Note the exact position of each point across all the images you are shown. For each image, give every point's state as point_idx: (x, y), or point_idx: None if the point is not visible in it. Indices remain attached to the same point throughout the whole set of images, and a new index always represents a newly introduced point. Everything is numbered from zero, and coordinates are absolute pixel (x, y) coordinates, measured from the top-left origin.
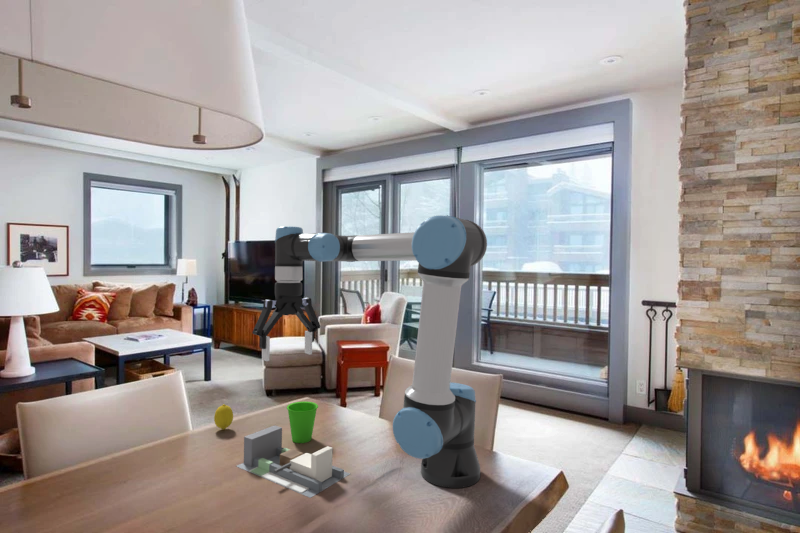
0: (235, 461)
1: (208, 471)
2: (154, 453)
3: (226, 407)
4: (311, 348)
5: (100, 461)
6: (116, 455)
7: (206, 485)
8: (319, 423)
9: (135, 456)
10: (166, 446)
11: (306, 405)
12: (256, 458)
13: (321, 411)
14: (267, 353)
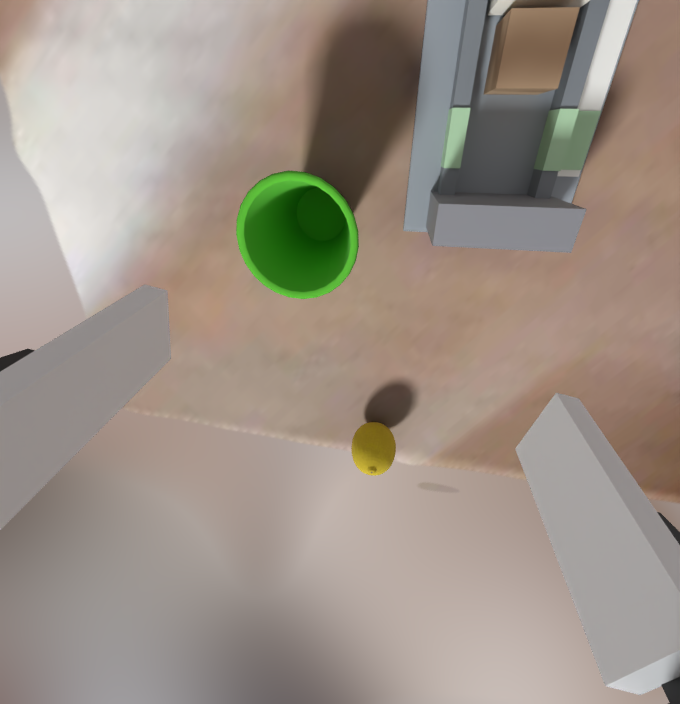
0: (504, 279)
1: (581, 290)
2: None
3: (372, 460)
4: (114, 308)
5: None
6: None
7: (658, 231)
8: (193, 274)
9: None
10: (501, 449)
11: (257, 259)
12: (548, 188)
13: None
14: (607, 447)
